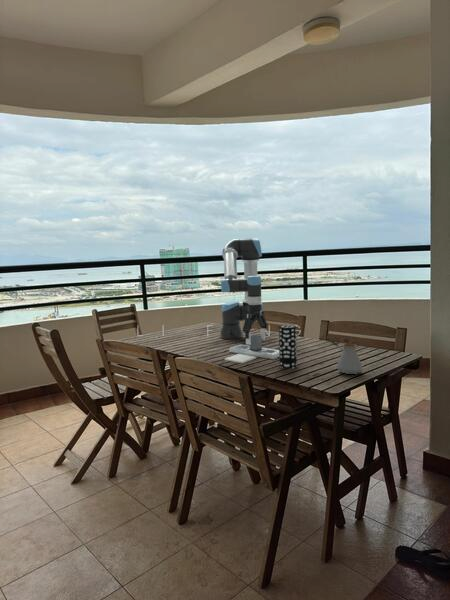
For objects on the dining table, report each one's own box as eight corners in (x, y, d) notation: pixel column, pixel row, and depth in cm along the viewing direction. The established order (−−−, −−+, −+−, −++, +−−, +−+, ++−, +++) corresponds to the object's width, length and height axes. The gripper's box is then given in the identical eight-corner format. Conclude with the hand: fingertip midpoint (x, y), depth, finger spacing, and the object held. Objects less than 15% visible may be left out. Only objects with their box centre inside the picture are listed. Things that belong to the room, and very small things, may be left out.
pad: (238, 355, 230) (238, 353, 230) (256, 358, 222) (256, 356, 222) (224, 360, 221) (224, 358, 221) (242, 363, 213) (242, 361, 213)
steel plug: (254, 352, 236) (254, 334, 234) (261, 353, 233) (261, 335, 231) (250, 354, 232) (249, 336, 231) (256, 355, 229) (256, 337, 228)
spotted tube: (286, 369, 200) (285, 328, 197) (276, 365, 207) (275, 326, 205) (300, 367, 204) (299, 326, 201) (289, 363, 211) (289, 324, 208)
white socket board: (229, 351, 238) (229, 347, 238) (240, 348, 246) (239, 344, 245) (273, 359, 219) (273, 354, 219) (283, 355, 227) (283, 350, 226)
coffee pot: (368, 373, 190) (368, 341, 188) (350, 378, 184) (351, 344, 182) (332, 363, 208) (332, 333, 206) (315, 367, 202) (315, 337, 200)
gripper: (246, 307, 217) (247, 347, 220) (273, 301, 236) (273, 338, 239) (235, 306, 222) (236, 345, 224) (262, 301, 241) (262, 337, 243)
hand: (255, 342), depth 231 cm, fingers open, 13 cm apart
